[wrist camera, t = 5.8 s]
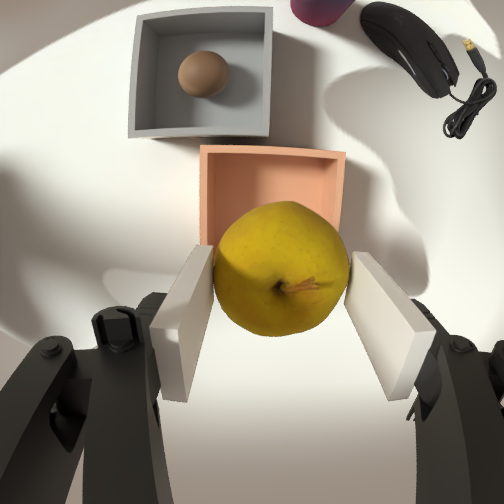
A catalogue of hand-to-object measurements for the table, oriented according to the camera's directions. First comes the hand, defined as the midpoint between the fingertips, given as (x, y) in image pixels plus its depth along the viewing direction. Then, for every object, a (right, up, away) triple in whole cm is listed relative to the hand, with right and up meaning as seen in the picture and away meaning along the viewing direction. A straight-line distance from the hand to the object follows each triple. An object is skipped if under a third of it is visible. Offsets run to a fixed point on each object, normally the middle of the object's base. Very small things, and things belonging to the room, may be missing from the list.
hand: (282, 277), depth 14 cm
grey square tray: (-5, +17, +11) cm, 21 cm away
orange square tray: (0, +6, +15) cm, 16 cm away
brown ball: (-5, +17, +11) cm, 21 cm away
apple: (0, +2, +5) cm, 5 cm away
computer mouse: (+19, +23, +10) cm, 31 cm away
